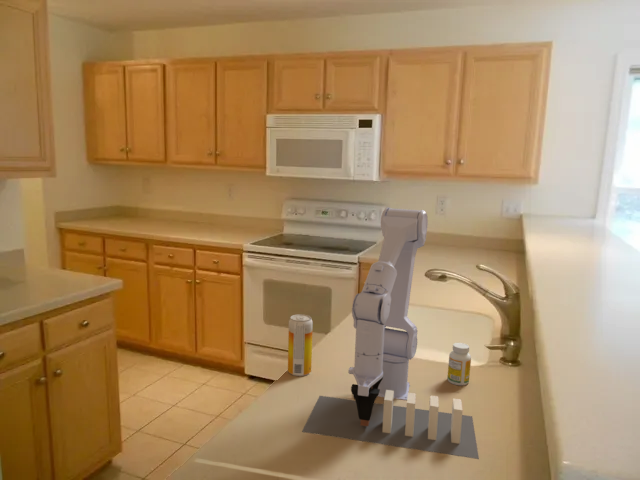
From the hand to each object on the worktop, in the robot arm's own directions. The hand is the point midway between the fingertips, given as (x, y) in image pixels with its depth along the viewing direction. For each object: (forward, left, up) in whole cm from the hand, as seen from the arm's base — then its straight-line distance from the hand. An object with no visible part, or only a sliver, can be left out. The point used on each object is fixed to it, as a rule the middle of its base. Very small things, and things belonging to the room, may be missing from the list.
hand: (366, 413), depth 101 cm
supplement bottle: (-28, +20, -3) cm, 35 cm away
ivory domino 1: (0, +4, -2) cm, 5 cm away
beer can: (-21, -20, -3) cm, 29 cm away
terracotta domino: (0, 0, -2) cm, 2 cm away
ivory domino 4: (0, +18, -2) cm, 18 cm away
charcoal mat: (-1, +5, -3) cm, 6 cm away
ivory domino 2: (0, +9, -2) cm, 9 cm away
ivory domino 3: (0, +13, -2) cm, 14 cm away
